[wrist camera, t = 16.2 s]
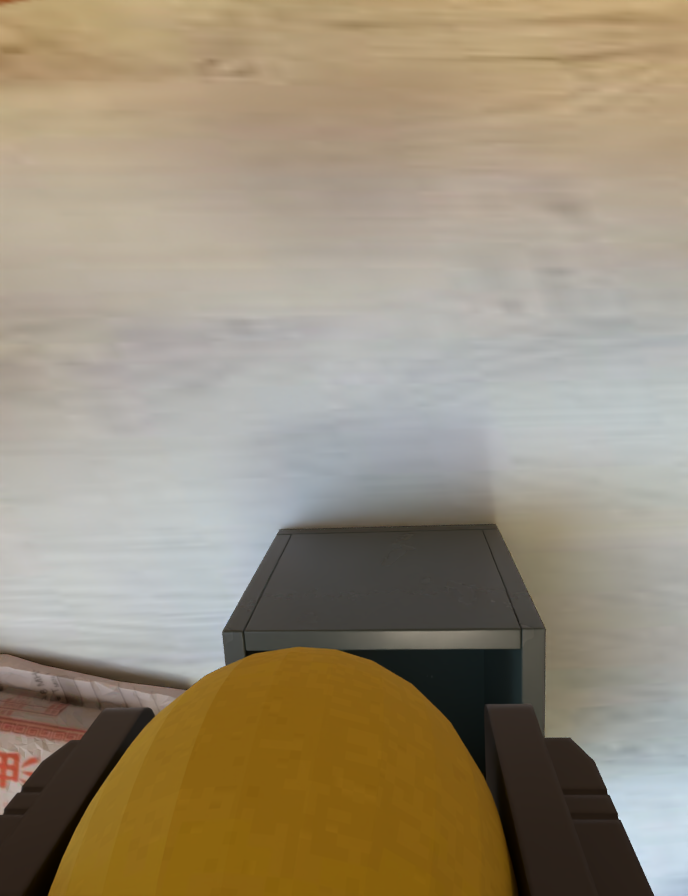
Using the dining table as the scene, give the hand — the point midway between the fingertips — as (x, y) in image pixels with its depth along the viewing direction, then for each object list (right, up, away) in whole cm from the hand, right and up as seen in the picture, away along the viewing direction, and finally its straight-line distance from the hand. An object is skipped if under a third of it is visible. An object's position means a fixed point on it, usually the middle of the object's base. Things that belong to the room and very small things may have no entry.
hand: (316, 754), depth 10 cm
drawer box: (+3, -6, +23) cm, 24 cm away
